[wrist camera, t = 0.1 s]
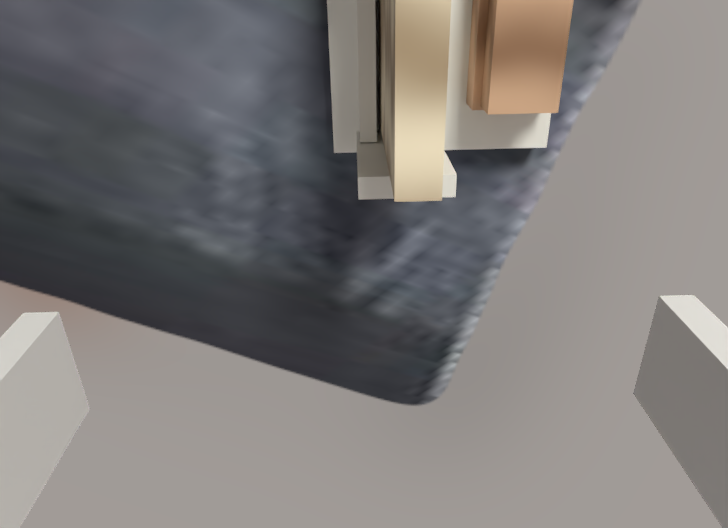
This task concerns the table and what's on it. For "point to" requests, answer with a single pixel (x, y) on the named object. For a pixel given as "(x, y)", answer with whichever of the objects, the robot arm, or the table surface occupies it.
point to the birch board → (414, 94)
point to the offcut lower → (477, 53)
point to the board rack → (361, 98)
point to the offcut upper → (525, 55)
